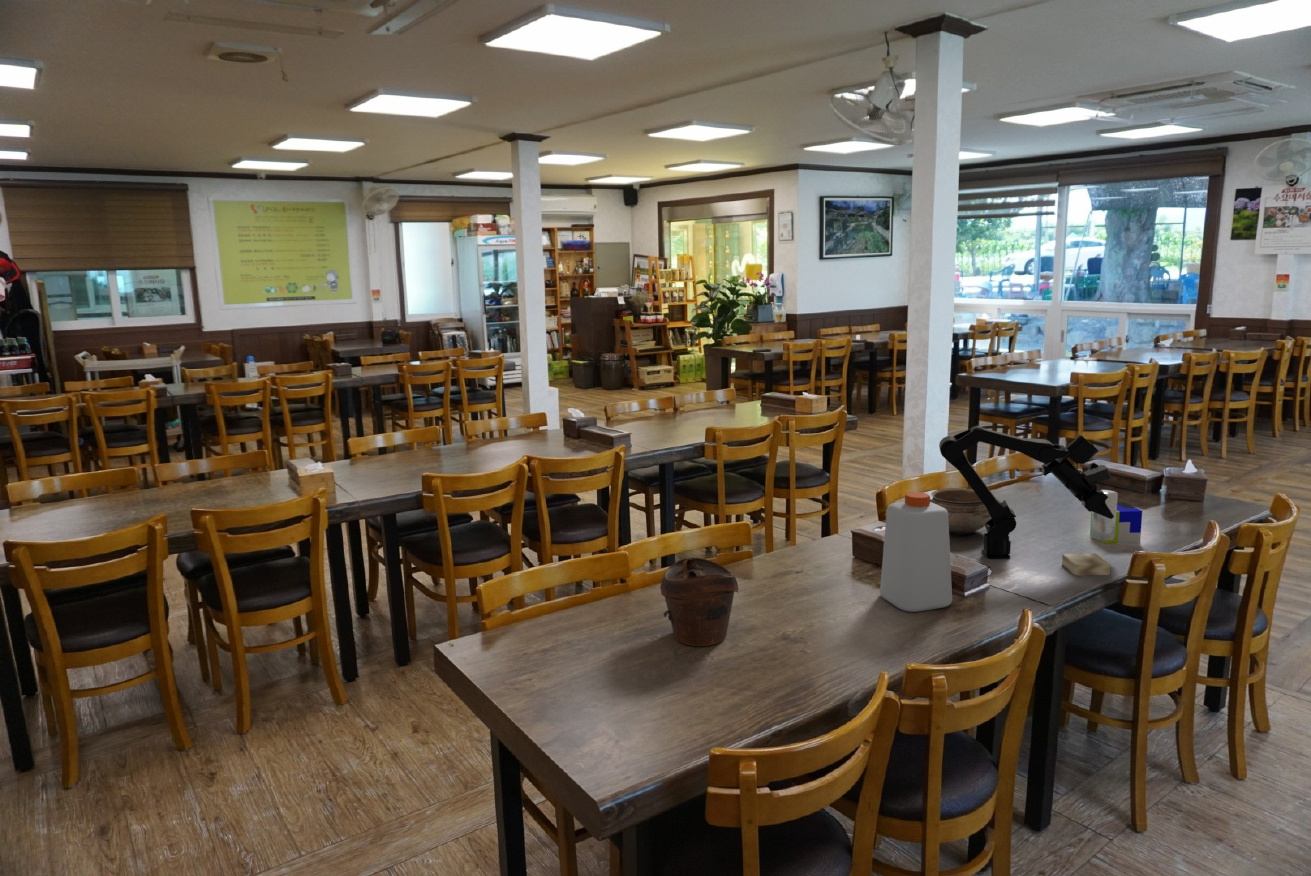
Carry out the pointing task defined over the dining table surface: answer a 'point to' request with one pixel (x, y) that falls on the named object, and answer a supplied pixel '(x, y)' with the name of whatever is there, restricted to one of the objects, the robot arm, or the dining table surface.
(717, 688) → the dining table surface
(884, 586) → the plastic bottle
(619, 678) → the dining table surface
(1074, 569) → the birch block
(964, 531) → the cooking pot
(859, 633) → the dining table surface
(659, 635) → the dining table surface
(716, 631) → the brown lidded bucket
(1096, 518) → the metal cylinder
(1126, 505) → the puzzle toy
